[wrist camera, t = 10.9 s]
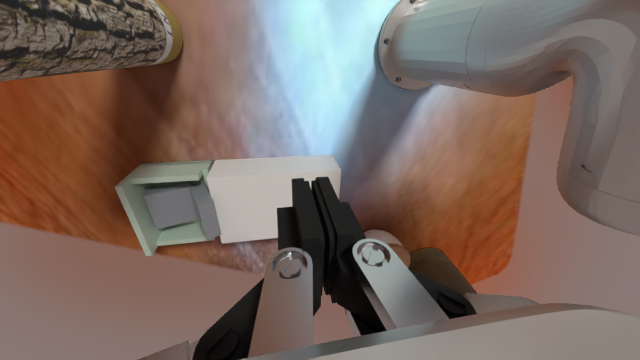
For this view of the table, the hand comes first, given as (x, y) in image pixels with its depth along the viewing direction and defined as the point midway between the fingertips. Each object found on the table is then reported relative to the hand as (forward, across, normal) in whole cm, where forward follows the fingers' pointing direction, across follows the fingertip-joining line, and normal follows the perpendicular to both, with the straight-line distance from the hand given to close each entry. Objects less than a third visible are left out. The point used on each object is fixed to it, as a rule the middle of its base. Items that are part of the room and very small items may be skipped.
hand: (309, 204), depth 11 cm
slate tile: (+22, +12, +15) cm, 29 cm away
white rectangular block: (+27, +2, +15) cm, 31 cm away
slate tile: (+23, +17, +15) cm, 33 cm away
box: (+27, +16, +15) cm, 35 cm away
